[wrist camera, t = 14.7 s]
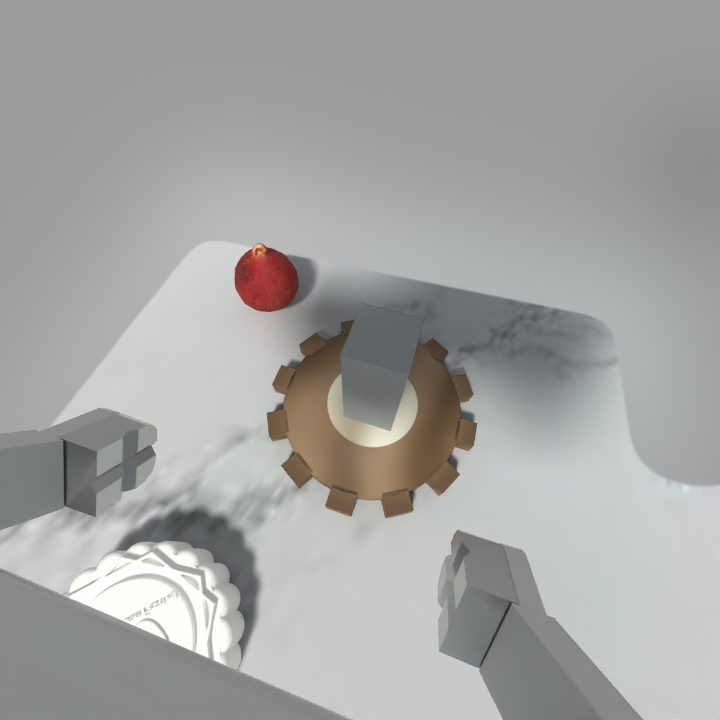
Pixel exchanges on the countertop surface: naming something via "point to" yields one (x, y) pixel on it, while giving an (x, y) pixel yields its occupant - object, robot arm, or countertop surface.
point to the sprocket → (370, 429)
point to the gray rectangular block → (377, 364)
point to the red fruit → (265, 279)
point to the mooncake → (168, 596)
